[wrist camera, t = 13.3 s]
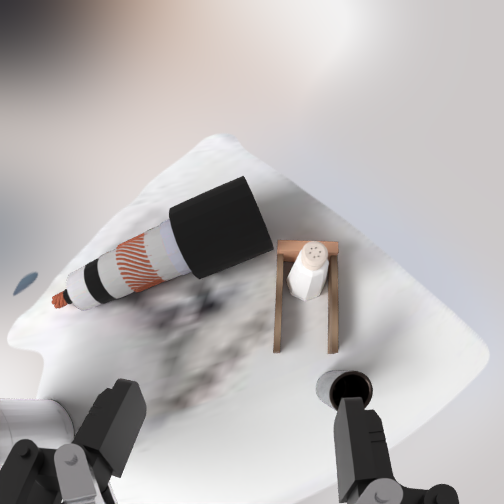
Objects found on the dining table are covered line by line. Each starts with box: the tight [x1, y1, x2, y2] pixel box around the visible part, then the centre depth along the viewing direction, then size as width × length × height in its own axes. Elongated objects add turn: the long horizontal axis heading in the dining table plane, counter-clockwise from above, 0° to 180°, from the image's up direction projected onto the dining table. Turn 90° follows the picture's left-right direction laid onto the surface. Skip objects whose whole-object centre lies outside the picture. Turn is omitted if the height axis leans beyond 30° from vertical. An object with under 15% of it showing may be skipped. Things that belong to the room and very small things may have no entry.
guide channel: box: [273, 240, 339, 354], centre depth 39 cm, size 14×8×4 cm, turn 176°
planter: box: [316, 371, 373, 411], centre depth 32 cm, size 4×4×10 cm
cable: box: [52, 176, 274, 311], centre depth 40 cm, size 10×34×10 cm, turn 108°
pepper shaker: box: [286, 241, 329, 301], centre depth 37 cm, size 5×5×11 cm
